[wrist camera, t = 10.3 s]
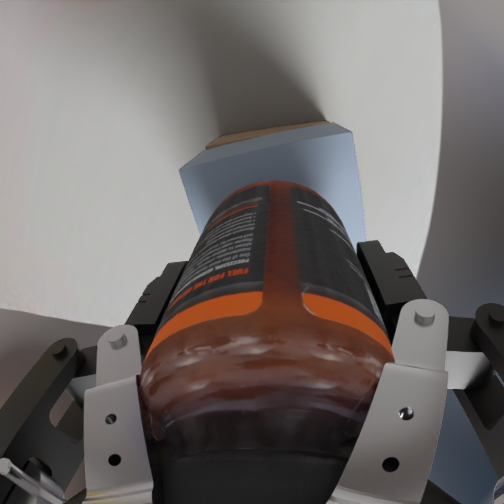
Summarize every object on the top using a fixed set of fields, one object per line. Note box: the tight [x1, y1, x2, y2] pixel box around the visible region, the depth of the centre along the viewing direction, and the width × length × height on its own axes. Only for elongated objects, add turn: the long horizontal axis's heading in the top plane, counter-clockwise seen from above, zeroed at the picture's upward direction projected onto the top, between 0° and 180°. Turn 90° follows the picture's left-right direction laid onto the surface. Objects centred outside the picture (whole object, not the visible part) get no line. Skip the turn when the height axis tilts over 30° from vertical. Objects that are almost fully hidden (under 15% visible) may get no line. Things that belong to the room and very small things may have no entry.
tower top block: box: [179, 122, 367, 252], centre depth 17 cm, size 8×8×5 cm
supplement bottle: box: [139, 180, 395, 504], centre depth 8 cm, size 6×6×11 cm
